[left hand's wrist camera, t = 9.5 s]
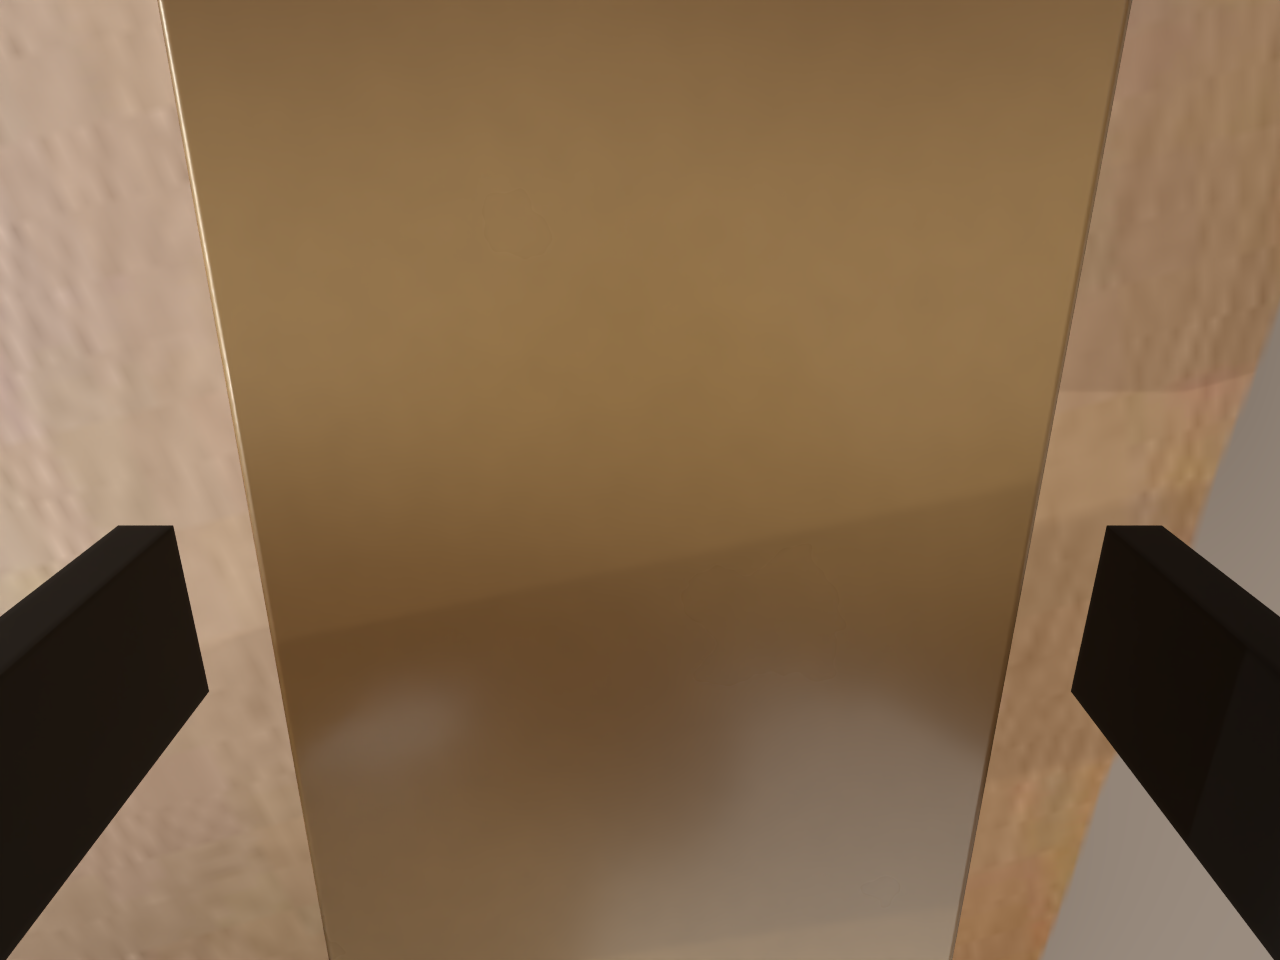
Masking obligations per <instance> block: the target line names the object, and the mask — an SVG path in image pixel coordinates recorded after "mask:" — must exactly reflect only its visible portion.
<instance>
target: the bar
mask: <svg viewBox="0 0 1280 960" xmlns="http://www.w3.org/2000/svg"><path fill="white" fill-rule="evenodd" d="M157 1H158V7H159V12H160V18H161V23H162V29H163V35H164V40H165V46H166V51H167V57H168V63H169V68H170V74H171V79H172V85H173V90H174V96H175V102H176V107H177V113H178V118H179V124H180V130H181V135H182V141H183V146H184V152H185V158H186V163H187V169H188V174H189V180H190V185H191V191H192V197H193V202H194V208H195V213H196V219H197V225H198V230H199V236H200V241H201V247H202V253H203V258H204V264H205V269H206V275H207V280H208V286H209V292H210V297H211V303H212V308H213V314H214V320H215V325H216V331H217V336H218V342H219V348H220V353H221V359H222V364H223V370H224V375H225V381H226V387H227V392H228V398H229V403H230V409H231V415H232V420H233V426H234V431H235V437H236V443H237V448H238V454H239V459H240V465H241V470H242V476H243V482H244V487H245V493H246V498H247V504H248V510H249V515H250V521H251V526H252V532H253V537H254V543H255V549H256V554H257V560H258V565H259V571H260V577H261V582H262V588H263V593H264V599H265V605H266V610H267V616H268V621H269V627H270V632H271V638H272V644H273V649H274V655H275V660H276V666H277V672H278V677H279V683H280V688H281V694H282V700H283V705H284V711H285V716H286V722H287V727H288V733H289V739H290V744H291V750H292V755H293V761H294V767H295V772H296V778H297V783H298V789H299V795H300V800H301V806H302V811H303V817H304V822H305V828H306V834H307V839H308V845H309V850H310V856H311V862H312V867H313V873H314V878H315V884H316V890H317V895H318V901H319V906H320V912H321V917H322V923H323V929H324V934H325V940H326V945H327V951H328V957H329V960H952V958H953V953H954V947H955V942H956V937H957V931H958V926H959V921H960V915H961V910H962V905H963V899H964V894H965V889H966V883H967V878H968V873H969V867H970V862H971V857H972V851H973V846H974V841H975V835H976V830H977V825H978V819H979V814H980V809H981V803H982V798H983V793H984V787H985V782H986V777H987V771H988V766H989V761H990V755H991V750H992V745H993V739H994V734H995V729H996V723H997V718H998V713H999V707H1000V702H1001V697H1002V691H1003V686H1004V681H1005V675H1006V670H1007V665H1008V659H1009V654H1010V649H1011V643H1012V638H1013V633H1014V627H1015V622H1016V617H1017V611H1018V606H1019V601H1020V595H1021V590H1022V585H1023V579H1024V574H1025V569H1026V563H1027V558H1028V553H1029V547H1030V542H1031V537H1032V531H1033V526H1034V521H1035V515H1036V510H1037V505H1038V499H1039V494H1040V489H1041V483H1042V478H1043V473H1044V467H1045V462H1046V457H1047V451H1048V446H1049V441H1050V435H1051V430H1052V425H1053V419H1054V414H1055V409H1056V403H1057V398H1058V393H1059V387H1060V382H1061V377H1062V371H1063V366H1064V361H1065V355H1066V350H1067V345H1068V339H1069V334H1070V329H1071V323H1072V318H1073V313H1074V307H1075V302H1076V297H1077V291H1078V286H1079V281H1080V275H1081V270H1082V265H1083V259H1084V254H1085V249H1086V243H1087V238H1088V233H1089V227H1090V222H1091V217H1092V211H1093V206H1094V201H1095V195H1096V190H1097V185H1098V179H1099V174H1100V169H1101V163H1102V158H1103V153H1104V147H1105V142H1106V137H1107V131H1108V126H1109V121H1110V115H1111V110H1112V105H1113V99H1114V94H1115V89H1116V83H1117V78H1118V73H1119V67H1120V62H1121V57H1122V51H1123V46H1124V41H1125V35H1126V30H1127V25H1128V19H1129V14H1130V9H1131V3H1132V0H157Z"/></svg>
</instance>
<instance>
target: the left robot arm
mask: <svg viewBox="0 0 1280 960" xmlns="http://www.w3.org/2000/svg"><path fill="white" fill-rule="evenodd" d="M208 692H209V689H208V684H207V680H206V675H205V670H204V666H203V661H202V656H201V652H200V647H199V643H198V638H197V633H196V629H195V624H194V620H193V615H192V610H191V606H190V601H189V597H188V592H187V587H186V583H185V578H184V573H183V569H182V564H181V560H180V555H179V550H178V546H177V541H176V537H175V532H174V527H173V526H117V527H116V528H114V529H113V530H112V531H111V532H109V533H108V534H107V535H105V536H104V537H103V538H101V539H100V540H99V541H98V542H96V543H95V544H94V545H92V546H91V547H90V548H89V549H87V550H86V551H85V552H83V553H82V554H81V555H80V556H78V557H77V558H76V559H74V560H73V561H72V562H70V563H69V564H68V565H67V566H65V567H64V568H63V569H61V570H60V571H59V572H58V573H56V574H55V575H54V576H52V577H51V578H50V579H48V580H47V581H46V582H45V583H43V584H42V585H41V586H39V587H38V588H37V589H36V590H34V591H33V592H32V593H30V594H29V595H28V596H27V597H25V598H24V599H23V600H21V601H20V602H19V603H17V604H16V605H15V606H14V607H12V608H11V609H10V610H8V611H7V612H6V613H5V614H3V615H2V616H1V617H0V960H6V959H7V958H8V956H9V955H10V954H11V952H12V951H13V950H14V948H15V947H16V946H17V944H18V943H19V942H20V941H21V939H22V938H23V937H24V935H25V934H26V933H27V931H28V930H29V929H30V927H31V926H32V925H33V923H34V922H35V921H36V919H37V918H38V917H39V915H40V914H41V913H42V911H43V910H44V909H45V908H46V906H47V905H48V904H49V902H50V901H51V900H52V898H53V897H54V896H55V894H56V893H57V892H58V890H59V889H60V888H61V886H62V885H63V884H64V882H65V881H66V880H67V878H68V877H69V876H70V874H71V873H72V872H73V871H74V869H75V868H76V867H77V865H78V864H79V863H80V861H81V860H82V859H83V857H84V856H85V855H86V853H87V852H88V851H89V849H90V848H91V847H92V845H93V844H94V843H95V841H96V840H97V839H98V837H99V836H100V835H101V834H102V832H103V831H104V830H105V828H106V827H107V826H108V824H109V823H110V822H111V820H112V819H113V818H114V816H115V815H116V814H117V812H118V811H119V810H120V808H121V807H122V806H123V804H124V803H125V802H126V800H127V799H128V798H129V797H130V795H131V794H132V793H133V791H134V790H135V789H136V787H137V786H138V785H139V783H140V782H141V781H142V779H143V778H144V777H145V775H146V774H147V773H148V771H149V770H150V769H151V767H152V766H153V765H154V763H155V762H156V761H157V760H158V758H159V757H160V756H161V754H162V753H163V752H164V750H165V749H166V748H167V746H168V745H169V744H170V742H171V741H172V740H173V738H174V737H175V736H176V734H177V733H178V732H179V730H180V729H181V728H182V726H183V725H184V724H185V723H186V721H187V720H188V719H189V717H190V716H191V715H192V713H193V712H194V711H195V709H196V708H197V707H198V705H199V704H200V703H201V701H202V700H203V699H204V697H205V696H206V695H207V693H208ZM1071 692H1072V693H1073V695H1074V696H1075V697H1076V699H1077V700H1078V701H1079V703H1080V704H1081V705H1082V707H1083V708H1084V709H1085V711H1086V712H1087V713H1088V715H1089V716H1090V717H1091V719H1092V720H1093V721H1094V723H1095V724H1096V725H1097V726H1098V728H1099V729H1100V730H1101V732H1102V733H1103V734H1104V736H1105V737H1106V738H1107V740H1108V741H1109V742H1110V744H1111V745H1112V746H1113V748H1114V749H1115V750H1116V752H1117V753H1118V754H1119V756H1120V757H1121V758H1122V759H1123V761H1124V762H1125V763H1126V765H1127V766H1128V767H1129V769H1130V770H1131V771H1132V773H1133V774H1134V775H1135V777H1136V778H1137V779H1138V781H1139V782H1140V783H1141V785H1142V786H1143V787H1144V789H1145V790H1146V791H1147V793H1148V794H1149V795H1150V797H1151V798H1152V799H1153V800H1154V802H1155V803H1156V804H1157V806H1158V807H1159V808H1160V810H1161V811H1162V812H1163V814H1164V815H1165V816H1166V818H1167V819H1168V820H1169V822H1170V823H1171V824H1172V826H1173V827H1174V828H1175V830H1176V831H1177V832H1178V833H1179V835H1180V836H1181V837H1182V839H1183V840H1184V841H1185V843H1186V844H1187V845H1188V847H1189V848H1190V849H1191V851H1192V852H1193V853H1194V855H1195V856H1196V857H1197V859H1198V860H1199V861H1200V863H1201V864H1202V865H1203V867H1204V868H1205V869H1206V871H1207V872H1208V873H1209V874H1210V876H1211V877H1212V878H1213V880H1214V881H1215V882H1216V884H1217V885H1218V886H1219V888H1220V889H1221V890H1222V892H1223V893H1224V894H1225V896H1226V897H1227V898H1228V900H1229V901H1230V902H1231V904H1232V905H1233V906H1234V908H1235V909H1236V910H1237V911H1238V913H1239V914H1240V915H1241V917H1242V918H1243V919H1244V921H1245V922H1246V923H1247V925H1248V926H1249V927H1250V929H1251V930H1252V931H1253V933H1254V934H1255V935H1256V937H1257V938H1258V939H1259V941H1260V942H1261V943H1262V944H1263V946H1264V947H1265V948H1266V950H1267V951H1268V952H1269V954H1270V955H1271V956H1272V958H1273V959H1274V960H1280V617H1279V616H1278V615H1277V614H1275V613H1274V612H1273V611H1272V610H1270V609H1269V608H1268V607H1266V606H1265V605H1264V604H1263V603H1261V602H1260V601H1259V600H1257V599H1256V598H1255V597H1253V596H1252V595H1251V594H1249V593H1248V592H1247V591H1246V590H1244V589H1243V588H1242V587H1241V586H1239V585H1238V584H1237V583H1235V582H1234V581H1233V580H1231V579H1230V578H1229V577H1228V576H1226V575H1225V574H1224V573H1222V572H1221V571H1220V570H1218V569H1217V568H1216V567H1215V566H1213V565H1212V564H1211V563H1210V562H1208V561H1207V560H1206V559H1204V558H1203V557H1202V556H1200V555H1199V554H1198V553H1197V552H1195V551H1194V550H1193V549H1191V548H1190V547H1189V546H1188V545H1186V544H1185V543H1184V542H1182V541H1181V540H1180V539H1178V538H1177V537H1176V536H1175V535H1173V534H1172V533H1171V532H1169V531H1168V530H1167V529H1166V528H1164V527H1163V526H1107V527H1106V532H1105V536H1104V541H1103V546H1102V550H1101V555H1100V560H1099V564H1098V569H1097V573H1096V578H1095V583H1094V587H1093V592H1092V596H1091V601H1090V606H1089V610H1088V615H1087V620H1086V624H1085V629H1084V633H1083V638H1082V643H1081V647H1080V652H1079V656H1078V661H1077V666H1076V670H1075V675H1074V679H1073V684H1072V689H1071Z"/></svg>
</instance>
